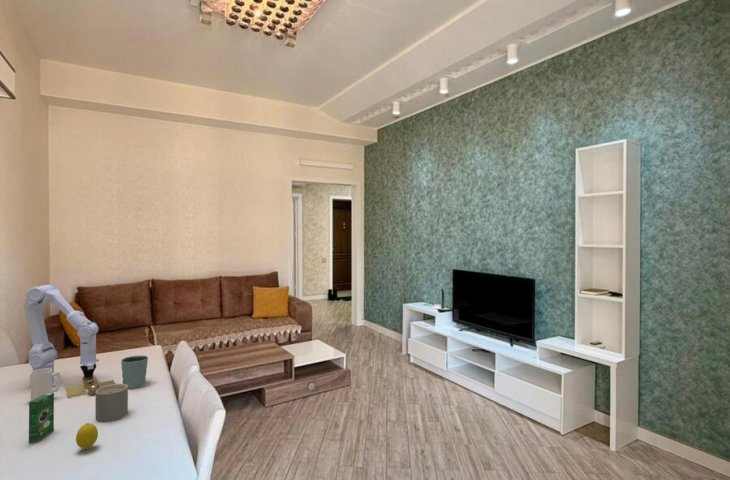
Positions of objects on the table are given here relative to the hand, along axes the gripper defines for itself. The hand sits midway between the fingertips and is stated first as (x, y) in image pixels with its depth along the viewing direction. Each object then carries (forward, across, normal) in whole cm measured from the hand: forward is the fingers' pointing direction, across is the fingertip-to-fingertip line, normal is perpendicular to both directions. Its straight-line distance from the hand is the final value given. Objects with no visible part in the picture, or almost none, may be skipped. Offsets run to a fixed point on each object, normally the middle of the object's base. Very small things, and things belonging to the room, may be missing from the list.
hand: (88, 381), depth 175 cm
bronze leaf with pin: (+1, -11, -3) cm, 12 cm away
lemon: (+1, -65, +8) cm, 66 cm away
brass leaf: (+1, -7, +3) cm, 8 cm away
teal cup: (+1, -16, -15) cm, 22 cm away
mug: (+1, -10, +15) cm, 18 cm away
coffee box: (+1, -46, +18) cm, 49 cm away
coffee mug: (+1, -42, -2) cm, 42 cm away
